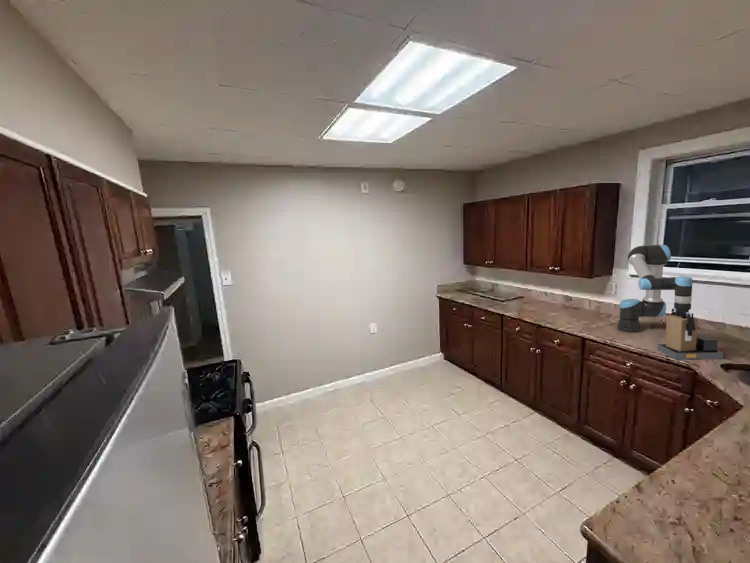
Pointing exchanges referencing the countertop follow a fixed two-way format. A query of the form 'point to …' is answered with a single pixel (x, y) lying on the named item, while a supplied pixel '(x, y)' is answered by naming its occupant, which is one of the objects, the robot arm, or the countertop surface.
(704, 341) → the rack
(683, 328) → the wooden block
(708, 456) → the countertop surface
